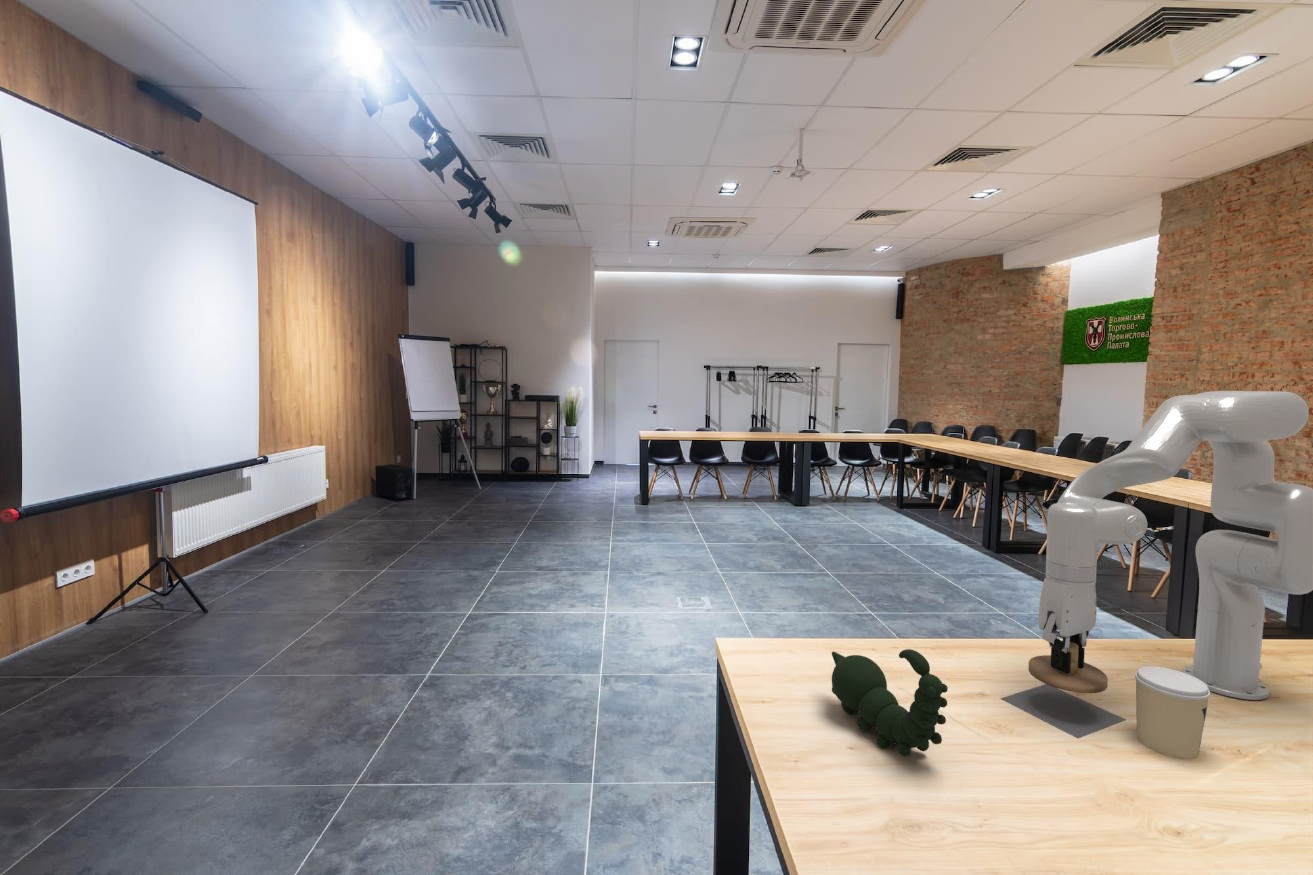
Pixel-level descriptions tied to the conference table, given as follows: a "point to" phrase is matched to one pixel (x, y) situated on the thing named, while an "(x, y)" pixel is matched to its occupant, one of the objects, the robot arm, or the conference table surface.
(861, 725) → the toy figurine
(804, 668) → the conference table surface
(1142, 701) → the coffee cup
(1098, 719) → the mat
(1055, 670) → the lid
